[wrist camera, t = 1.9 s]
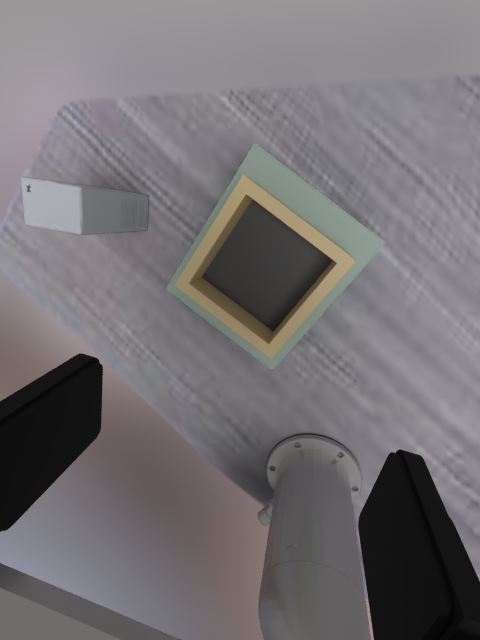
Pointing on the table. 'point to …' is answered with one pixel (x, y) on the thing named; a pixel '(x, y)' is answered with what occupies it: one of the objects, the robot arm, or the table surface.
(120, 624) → the robot arm
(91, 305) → the table surface
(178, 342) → the table surface
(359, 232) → the green yellow rimmed box
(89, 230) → the skincare box
